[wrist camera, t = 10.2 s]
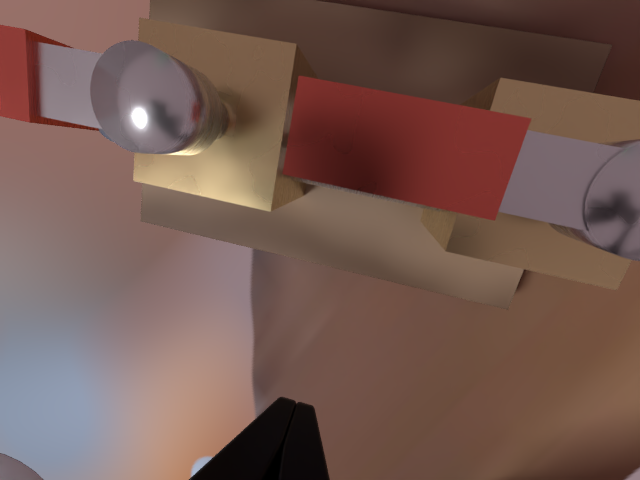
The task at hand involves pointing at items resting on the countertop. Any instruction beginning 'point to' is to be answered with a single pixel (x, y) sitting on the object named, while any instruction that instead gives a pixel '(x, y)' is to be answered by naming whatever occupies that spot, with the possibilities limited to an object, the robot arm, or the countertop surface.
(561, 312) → the countertop surface
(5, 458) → the honey pot
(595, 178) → the valve lever
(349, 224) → the beige flat board
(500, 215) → the pipe manifold
